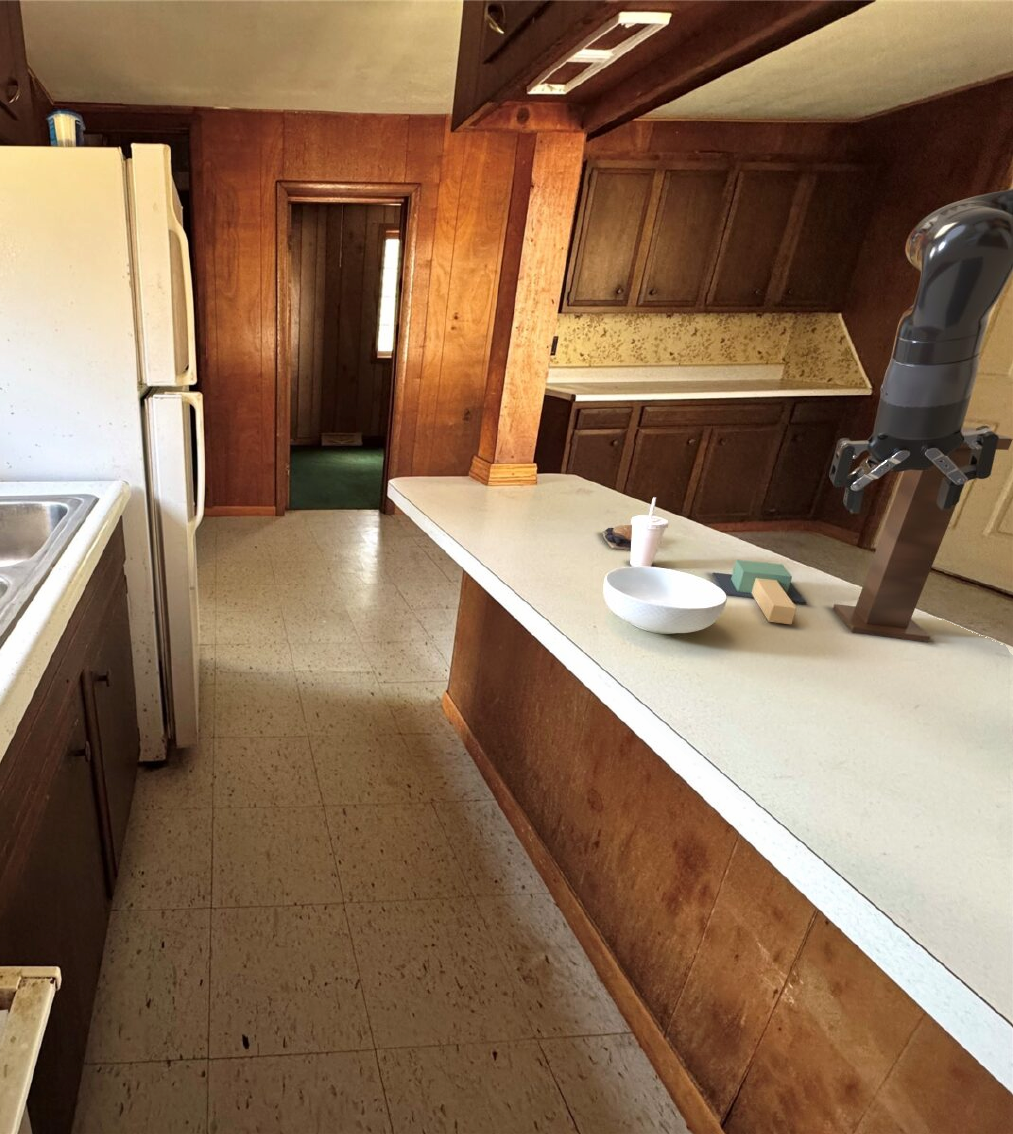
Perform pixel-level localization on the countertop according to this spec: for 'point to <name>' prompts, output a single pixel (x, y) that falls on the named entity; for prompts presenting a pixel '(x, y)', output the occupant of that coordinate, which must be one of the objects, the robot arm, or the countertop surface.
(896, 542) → the walnut stand
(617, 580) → the cereal bowl
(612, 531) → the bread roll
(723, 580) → the slate mat
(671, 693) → the countertop surface
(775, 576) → the two-tone toy blocks
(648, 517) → the smoothie
